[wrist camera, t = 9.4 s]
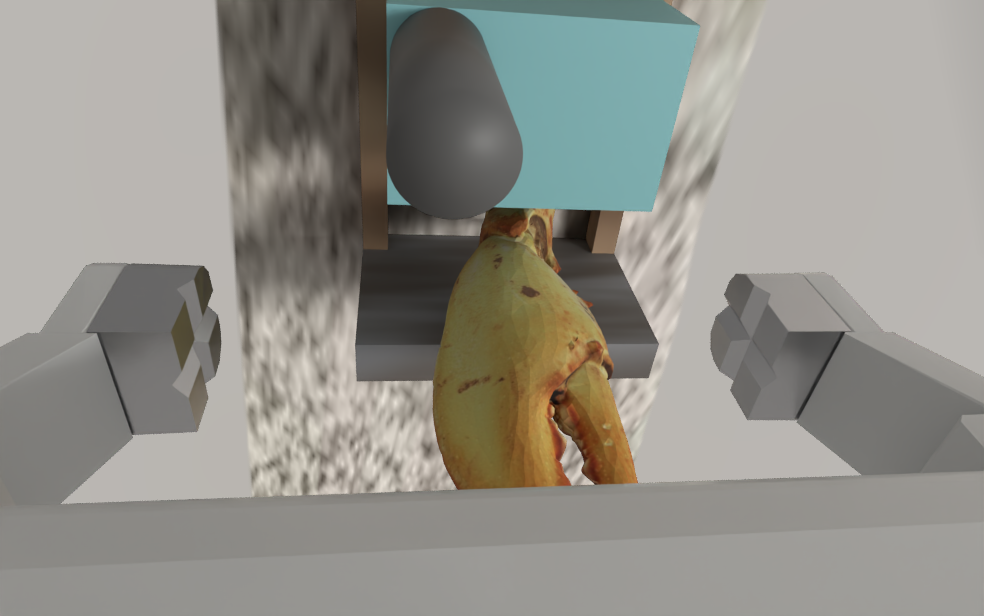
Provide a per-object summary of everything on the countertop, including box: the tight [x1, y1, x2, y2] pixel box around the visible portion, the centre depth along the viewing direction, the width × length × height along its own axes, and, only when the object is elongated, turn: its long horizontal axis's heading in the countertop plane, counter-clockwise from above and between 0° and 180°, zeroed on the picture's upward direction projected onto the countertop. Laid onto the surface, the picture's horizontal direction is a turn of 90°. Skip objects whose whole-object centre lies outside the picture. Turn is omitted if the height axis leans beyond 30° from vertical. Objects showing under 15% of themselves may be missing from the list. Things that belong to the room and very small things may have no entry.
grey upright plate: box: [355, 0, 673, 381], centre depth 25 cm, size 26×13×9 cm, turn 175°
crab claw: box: [433, 207, 638, 490], centre depth 25 cm, size 7×5×20 cm
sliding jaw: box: [386, 0, 700, 219], centre depth 23 cm, size 7×10×14 cm
